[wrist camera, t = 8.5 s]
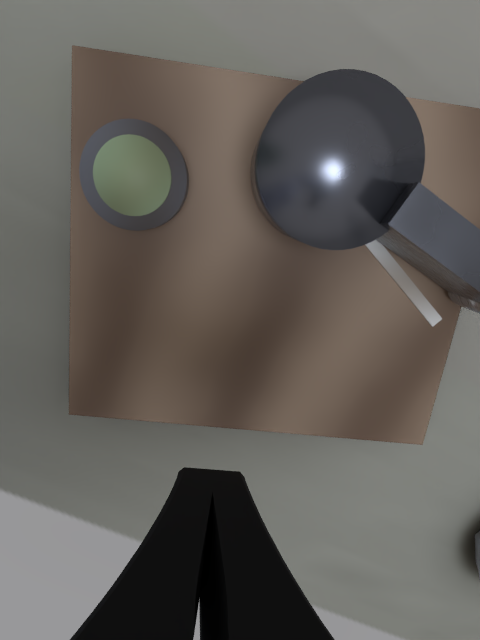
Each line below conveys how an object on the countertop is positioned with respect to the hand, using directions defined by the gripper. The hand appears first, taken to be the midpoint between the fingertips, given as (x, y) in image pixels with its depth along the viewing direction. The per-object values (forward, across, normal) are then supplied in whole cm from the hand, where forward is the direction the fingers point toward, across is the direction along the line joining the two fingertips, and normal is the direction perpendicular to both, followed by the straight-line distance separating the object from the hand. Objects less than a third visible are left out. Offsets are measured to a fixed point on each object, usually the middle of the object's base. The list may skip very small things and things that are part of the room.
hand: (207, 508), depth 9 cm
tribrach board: (+9, -2, -4) cm, 10 cm away
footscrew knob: (+8, -6, -7) cm, 12 cm away
